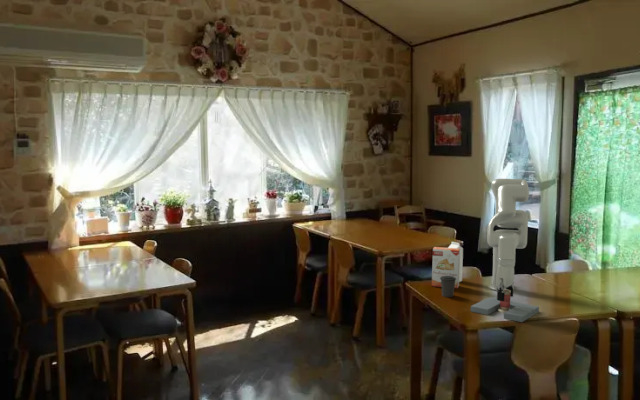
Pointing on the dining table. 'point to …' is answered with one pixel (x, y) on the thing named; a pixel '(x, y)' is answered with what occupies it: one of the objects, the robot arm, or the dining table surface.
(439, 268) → the cracker box
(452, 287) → the coffee cup
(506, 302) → the bobbin
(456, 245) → the milk
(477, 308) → the notched board
